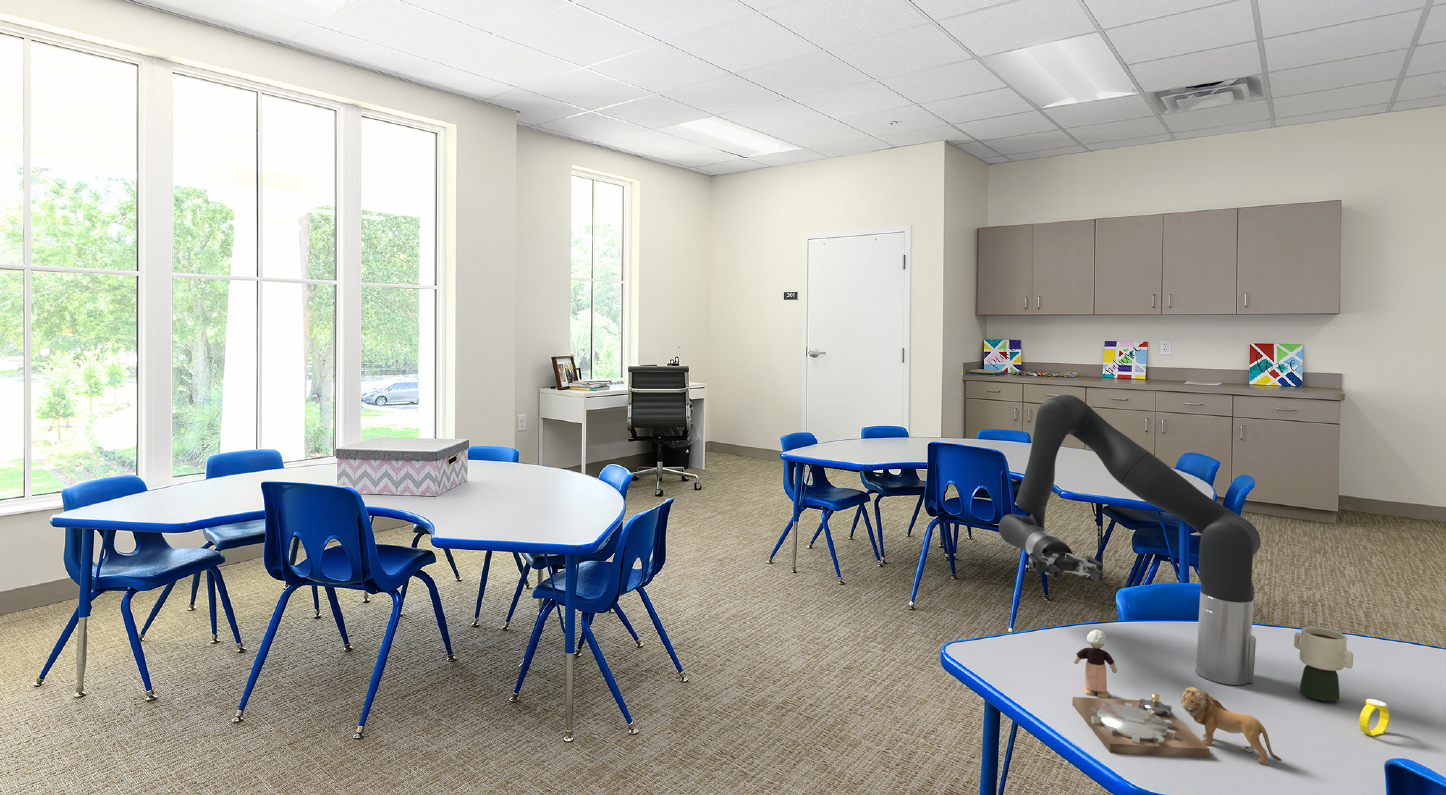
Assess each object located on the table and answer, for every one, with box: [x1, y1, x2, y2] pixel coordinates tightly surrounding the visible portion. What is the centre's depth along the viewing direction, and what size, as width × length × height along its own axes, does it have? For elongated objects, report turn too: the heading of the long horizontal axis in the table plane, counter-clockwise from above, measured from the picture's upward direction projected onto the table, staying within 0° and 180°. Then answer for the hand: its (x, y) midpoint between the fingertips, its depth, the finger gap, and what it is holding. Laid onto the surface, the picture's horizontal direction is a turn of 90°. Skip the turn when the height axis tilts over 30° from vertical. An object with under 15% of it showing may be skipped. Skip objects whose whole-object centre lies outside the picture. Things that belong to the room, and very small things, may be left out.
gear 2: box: [1139, 692, 1173, 718], centre depth 141 cm, size 6×5×3 cm
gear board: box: [1071, 696, 1210, 758], centre depth 137 cm, size 16×17×2 cm
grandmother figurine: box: [1072, 629, 1118, 699], centre depth 150 cm, size 8×4×13 cm, turn 71°
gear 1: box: [1090, 702, 1176, 745], centre depth 135 cm, size 13×13×1 cm
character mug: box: [1293, 626, 1354, 701], centre depth 150 cm, size 11×7×13 cm, turn 17°
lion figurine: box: [1180, 686, 1282, 765], centre depth 131 cm, size 15×5×9 cm, turn 50°
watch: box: [1358, 698, 1391, 737], centre depth 136 cm, size 6×3×6 cm, turn 110°
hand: (1079, 576), depth 160 cm, fingers open, 8 cm apart
